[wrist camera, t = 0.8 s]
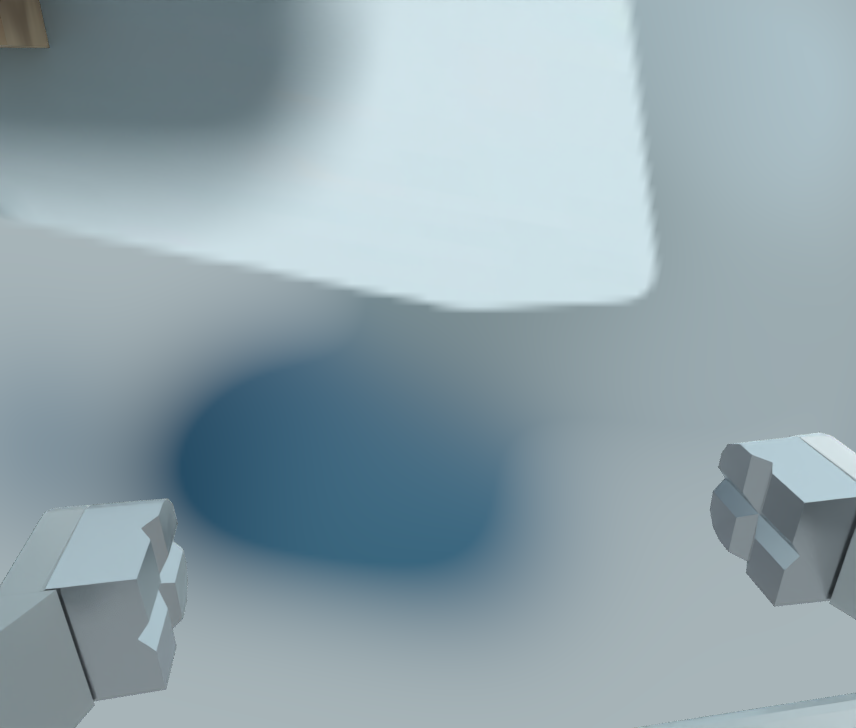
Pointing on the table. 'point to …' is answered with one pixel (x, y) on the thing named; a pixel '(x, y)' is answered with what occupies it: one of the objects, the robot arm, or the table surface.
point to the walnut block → (22, 24)
